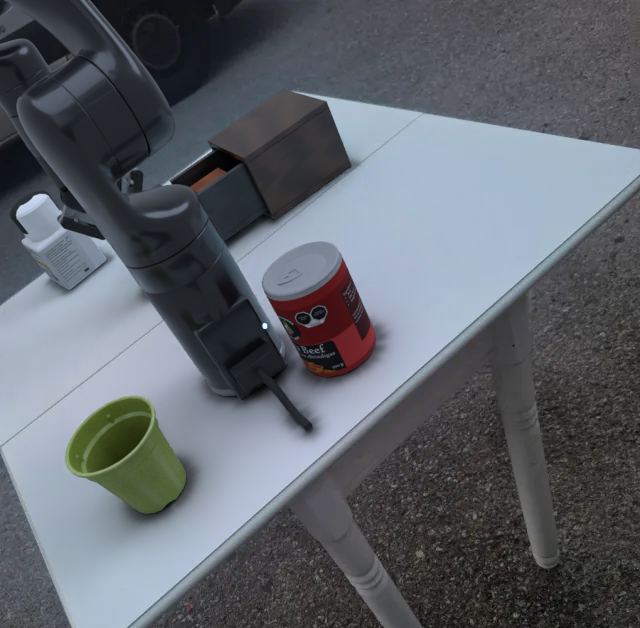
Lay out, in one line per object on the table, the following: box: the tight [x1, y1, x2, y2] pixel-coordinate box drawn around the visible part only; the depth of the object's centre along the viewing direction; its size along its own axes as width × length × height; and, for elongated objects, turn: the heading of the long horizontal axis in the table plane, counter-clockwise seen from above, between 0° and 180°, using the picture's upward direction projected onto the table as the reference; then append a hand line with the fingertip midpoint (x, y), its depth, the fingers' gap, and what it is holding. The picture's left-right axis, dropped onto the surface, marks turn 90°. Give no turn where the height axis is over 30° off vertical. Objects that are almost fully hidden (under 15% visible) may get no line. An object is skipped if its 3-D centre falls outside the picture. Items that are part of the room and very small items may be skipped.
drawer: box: [152, 149, 268, 242], centre depth 98 cm, size 17×11×8 cm
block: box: [190, 168, 227, 194], centre depth 99 cm, size 5×5×5 cm
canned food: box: [261, 240, 376, 378], centre depth 69 cm, size 8×8×11 cm
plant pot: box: [64, 394, 187, 515], centre depth 67 cm, size 9×9×9 cm
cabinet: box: [207, 88, 353, 221], centre depth 100 cm, size 14×13×10 cm
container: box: [9, 189, 107, 291], centre depth 107 cm, size 8×8×13 cm
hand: (137, 252), depth 96 cm, fingers closed
